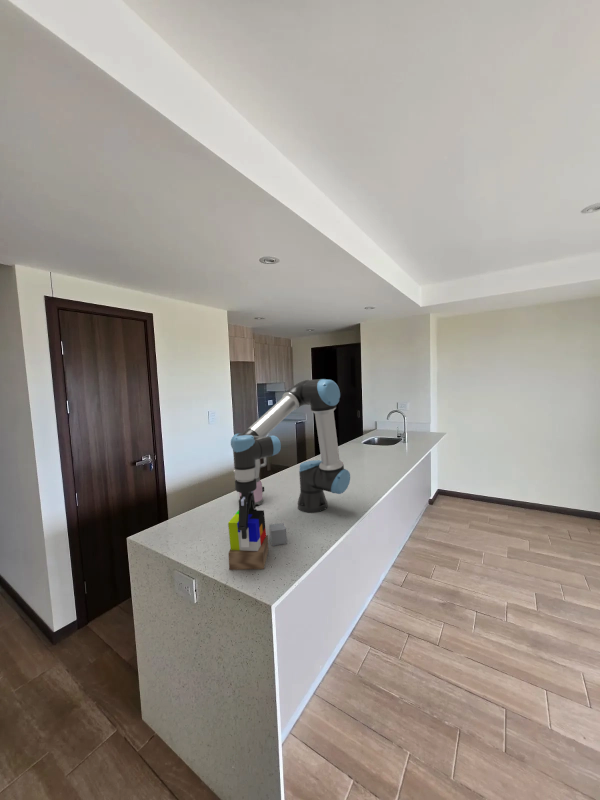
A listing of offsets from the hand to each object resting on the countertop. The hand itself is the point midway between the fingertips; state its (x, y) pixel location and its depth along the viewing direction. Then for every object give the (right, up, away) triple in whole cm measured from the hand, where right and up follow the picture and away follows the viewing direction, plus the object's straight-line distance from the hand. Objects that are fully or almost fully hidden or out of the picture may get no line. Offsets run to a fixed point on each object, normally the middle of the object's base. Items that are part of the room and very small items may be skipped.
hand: (248, 538), depth 116 cm
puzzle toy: (0, -2, 0) cm, 2 cm away
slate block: (+10, -7, +13) cm, 18 cm away
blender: (-6, -5, +55) cm, 55 cm away
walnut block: (0, -8, 0) cm, 8 cm away
